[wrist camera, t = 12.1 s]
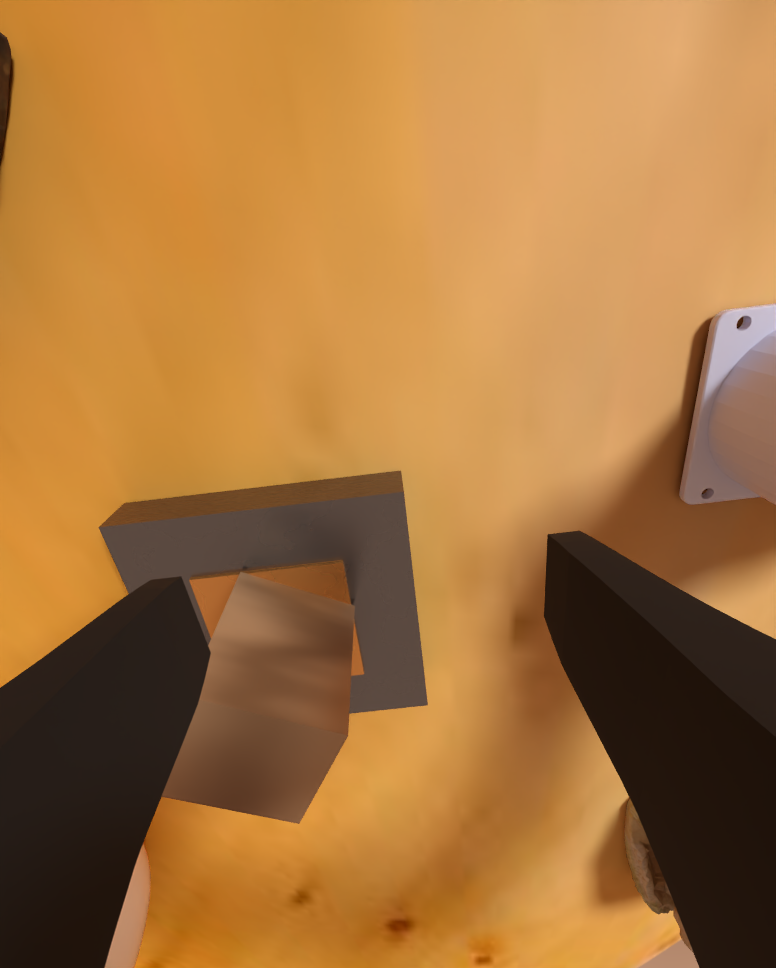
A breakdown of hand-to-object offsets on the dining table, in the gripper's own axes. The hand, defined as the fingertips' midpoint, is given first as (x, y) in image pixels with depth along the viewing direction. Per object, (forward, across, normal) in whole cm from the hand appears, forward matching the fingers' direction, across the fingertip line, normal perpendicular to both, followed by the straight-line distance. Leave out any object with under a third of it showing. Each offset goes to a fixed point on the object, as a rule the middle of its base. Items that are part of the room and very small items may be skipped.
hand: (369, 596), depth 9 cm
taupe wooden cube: (+8, +5, +8) cm, 13 cm away
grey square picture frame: (+10, +5, +8) cm, 14 cm away
